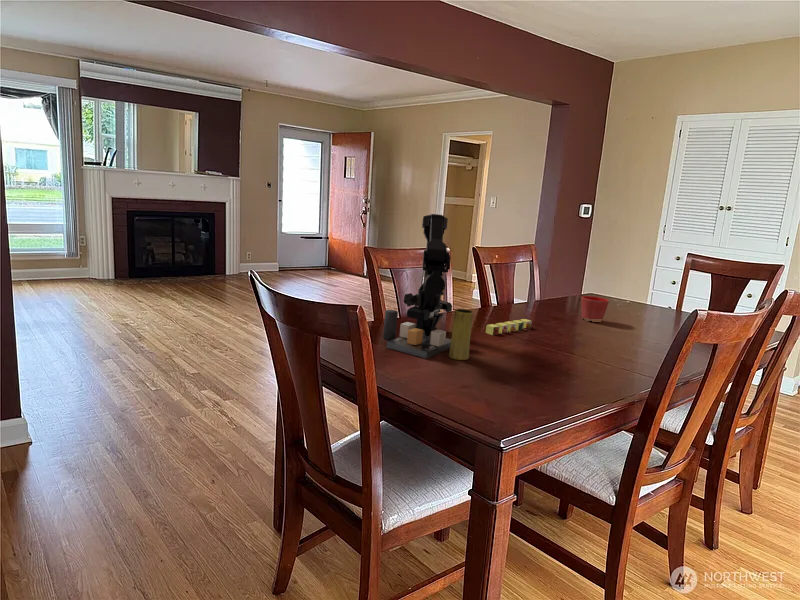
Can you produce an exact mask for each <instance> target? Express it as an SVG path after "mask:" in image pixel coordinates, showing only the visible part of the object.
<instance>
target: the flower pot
mask: <svg viewBox="0 0 800 600" xmlns="http://www.w3.org/2000/svg"><path fill="white" fill-rule="evenodd" d="M609 303H610V300H609V299H607V298H604V297H598V296H591V295H584V296H581V317H584V318H589V319H602V320H603V318H604V316H605V314H606V311H607V308H608V306H609Z"/></svg>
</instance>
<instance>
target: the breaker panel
mask: <svg viewBox="0 0 800 600" xmlns="http://www.w3.org/2000/svg"><path fill="white" fill-rule="evenodd" d="M430 339H431V335H430V336H426V335H425V331H423V339H422V343H420V344H417V345H412V344H409V343H407V338H404V337H400V336H398V337H396V338H395V339H392V340H387V341H386V349H390V350H394V351H397V352H401V353H403V354H404V353H405V354H408V355H411V356H414V357H415V356H416V357H418V358H422V359H425V360H426V359H430V358H431V357H433V356H436V355H438V354H440V353H442V352H445V351H447V350H450V344H451V338H447V337H446V338H445V344H443V345H441V346H439V347H438V346H435V345H431V344H430Z"/></svg>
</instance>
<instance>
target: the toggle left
mask: <svg viewBox="0 0 800 600" xmlns="http://www.w3.org/2000/svg"><path fill="white" fill-rule="evenodd" d="M415 325H416V323H414V322H409V321H406V322H403V323H400V328H399V337H404V338H407V337H408V330H410V329H413V328H415Z"/></svg>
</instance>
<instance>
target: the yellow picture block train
mask: <svg viewBox="0 0 800 600" xmlns="http://www.w3.org/2000/svg"><path fill="white" fill-rule="evenodd" d="M530 327H531V328H532V320H531V319H526V318H522V319H519V320H518V319H517V320H515V319H514V320H511V321H509V320H508V321H504V322H498V323H497V322H496V323H495V324H493V323H491V324H487V325H486V328H485V334H488V335H491V336H495V335H499V334H507V333H512V332H511V331H513V332H516V331H517V330H518V331H522V330H521V329H523V328H529V329H531V328H530ZM515 329H516V330H515ZM523 330H524V329H523ZM508 331H509V332H508ZM506 332H507V333H506Z"/></svg>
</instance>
